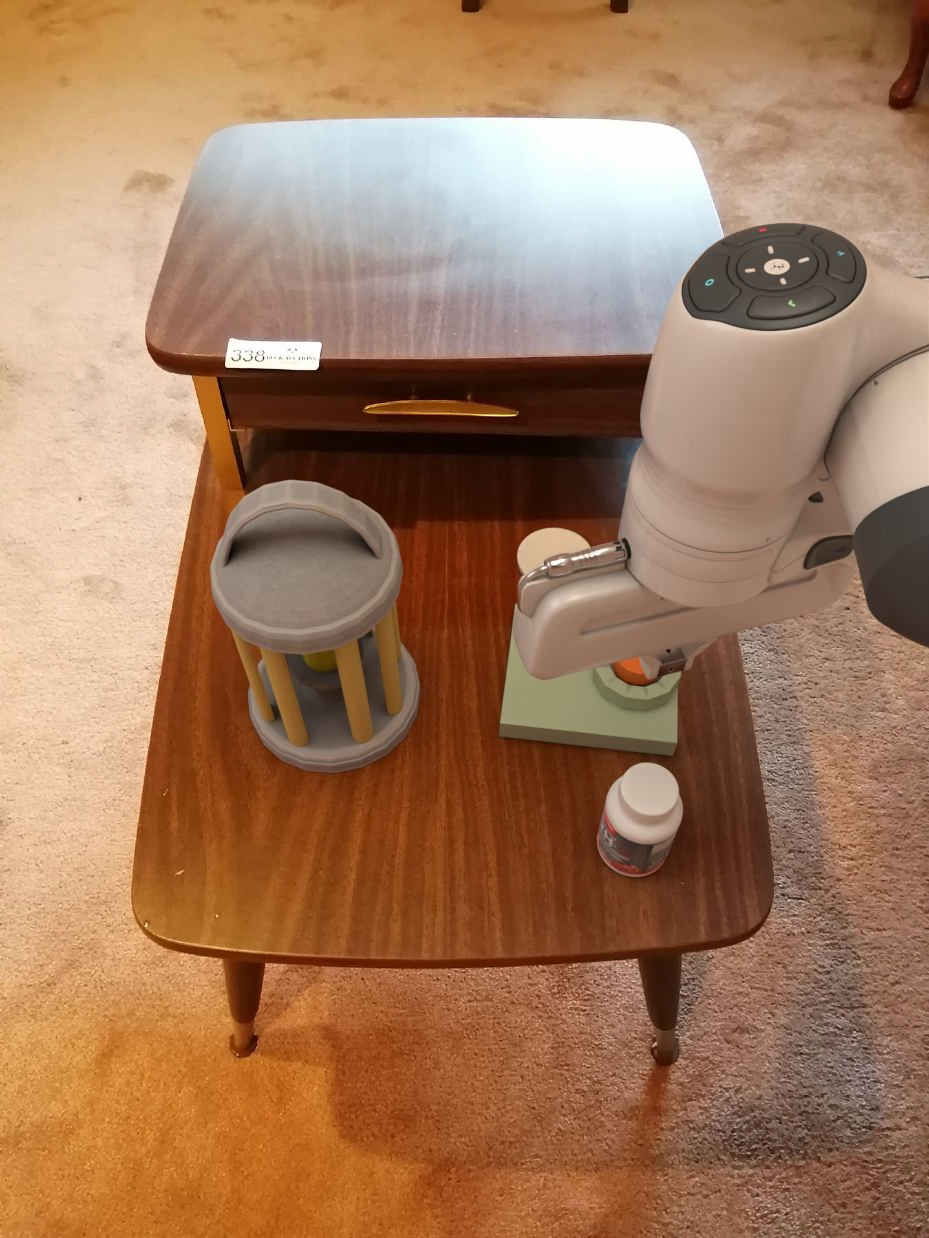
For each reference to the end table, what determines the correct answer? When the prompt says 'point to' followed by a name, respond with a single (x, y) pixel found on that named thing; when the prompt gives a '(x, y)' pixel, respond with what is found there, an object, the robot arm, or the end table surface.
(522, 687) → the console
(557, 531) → the coaster
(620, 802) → the pill bottle
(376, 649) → the lantern
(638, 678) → the press button
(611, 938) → the end table surface
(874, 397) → the robot arm
